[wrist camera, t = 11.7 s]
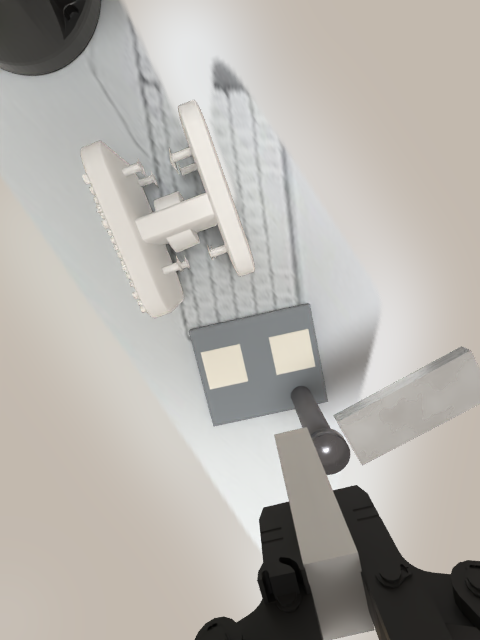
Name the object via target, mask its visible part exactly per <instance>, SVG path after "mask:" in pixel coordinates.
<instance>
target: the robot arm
mask: <svg viewBox="0 0 480 640" xmlns="http://www.w3.org/2000/svg"><path fill="white" fill-rule="evenodd" d="M100 4H101V0H0V68H2V69H4V70H7V71H10V72H13V73H17V74H23V75H40V74H46V73H50V72H53V71H55V70H58V69H60V68H62V67H64V66H66V65H67V64H69V63H70V62H71V61H73V60H74V59H75V58H76V57H77V56H78V55H79V54H80V53H81V52H82V51H83V49H84V48H85V47H86V45H87V44H88V42H89V40H90V39H91V37H92V35H93V32H94V30H95V27H96V24H97V21H98V17H99V12H100ZM274 436H275V440H276V445H277V449H278V454H279V458H280V463H281V467H282V472H283V476H284V481H285V485H286V490H287V494H288V499H289V502H286V503H281V504H277V505H273V506H268V507H264V508H263V510H262V513H261V516H260V519H259V523H260V533H261V543H262V554H263V564H262V566H261V568H260V570H259V572H258V580H257V581H258V584H259V587H260V591H261V594H262V598H263V599H262V601H261V603H260V605H259V606H258V607H257V608H256V609H255V610H254V611H253V612H252V613H251V614H249V615H248V616H246V617H245V618H243V619H241V620H240V621H238V622H237V623H236V622H235V621H234V620H232V619H230V618H227V617H219V618H214V619H213V620H211V621H209V622H207V623H206V624H205V625H204V626H203V627H202V629H201V630H200V631H199V632H198V634H197V636H196V638H195V640H332V639H337V638H341V637H345V636H350V635H355V634H359V633H364V632H368V631H373V630H374V626H375V630H376V632H377V635H378V638H379V640H480V561H470V560H467V561H464V562H460V563H458V564H457V565H456V566H455V567H454V568H453V569H452V573H451V574H441V573H432V572H427V571H423V570H421V569H418V568H416V567H414V566H413V565H411V564H409V562H407V561H406V560H405V559H404V558H403V557H402V556H401V554H400V553H399V551H398V549H397V547H396V545H395V543H394V542H393V540H392V538H391V536H390V534H389V532H388V530H387V529H386V527H385V525H384V523H383V521H382V519H381V518H380V517H379V514H378V512H377V510H376V508H375V507H374V505H373V503H372V501H371V499H370V497H369V495H368V494H367V493H366V492H365V491H364V490H362V489H361V488H360V487H358V486H357V485H355V486H350V487H346V488H342V489H337V490H332V488H331V485H330V483H329V480H328V478H327V475H326V473H325V470H324V468H323V466H322V463H321V461H320V458H319V456H318V453H317V451H316V448H315V446H314V443H313V441H312V439H311V436H310V434H309V431H308V429H307V427H305V428H301V429H296V430H292V431H288V432H284V433H280V434H275V435H274ZM373 624H374V626H373Z"/></svg>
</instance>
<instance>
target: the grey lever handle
mask: <svg viewBox="0 0 480 640" xmlns="http://www.w3.org/2000/svg"><path fill="white" fill-rule="evenodd" d="M479 404H480V368H479V366H478V364H477V362H476V360H475V358H474V356H473V353H472V351H471V350H469V349H467V348H464V347H459V348H458V349H456V350H454V351H452V352H450V353H449V354H447V355H445V356H443V357H441V358H439V359H437V360H435V361H433V362H432V363H430V364H428V365H426V366H424V367H422V368H420V369H419V370H417V371H415V372H413V373H411V374H409V375H408V376H406V377H404V378H402V379H400V380H398V381H396V382H395V383H393V384H391V385H389V386H387V387H385V388H383V389H382V390H380V391H378V392H376V393H374V394H372V395H370V396H369V397H367V398H365V399H363V400H361V401H359V402H357V403H356V404H354V405H352V406H350V407H348V408H346V409H345V410H343V411H341V412H339V413H337V414H335V415H333V416H334V418H335V419H336V421H337V423H338V425H339V426H340V428H341V430H342V432H343V433H344V435H345V437H346V438H347V440H348V442H349V444H350V445H351V447H352V449H353V451H354V452H355V454H356V456H357V457H358V459H359V461H360V463H361V464H362V465H364V464H366V463H368V462H370V461H372V460H374V459H376V458H378V457H380V456H381V455H383V454H385V453H387V452H389V451H391V450H393V449H395V448H397V447H398V446H400V445H402V444H404V443H406V442H408V441H410V440H412V439H414V438H416V437H418V436H420V435H422V434H424V433H425V432H427V431H429V430H431V429H433V428H435V427H437V426H439V425H441V424H443V423H445V422H447V421H448V420H450V419H452V418H454V417H456V416H458V415H460V414H462V413H464V412H466V411H467V410H469V409H471V408H473V407H475V406H477V405H479ZM310 436H311V439H312V441H313V443H314V446H315V448H316V451H317V453H318V456H319V458H320V461H321V463H322V466H323V468H324V470H325V473H326V475H330V474H335V473H337V472H339V471H341V470H342V469H343V468H344V467H345V466H346V465H347V464H348V462H349V459H350V449H349V447H348V445H347V443H346V441H345V440H344V438H343V436H342V435H341V434H340V433H339V432H337V431H335V430H333V429H320V430H317V431H315V432H313V433H312V434H311V435H310Z"/></svg>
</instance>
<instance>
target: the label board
mask: <svg viewBox="0 0 480 640" xmlns="http://www.w3.org/2000/svg"><path fill="white" fill-rule="evenodd" d="M189 333H190V337H191V341H192V345H193V349H194V352H195V356H196V360H197V364H198V368H199V372H200V376H201V380H202V383H203V387H204V391H205V395H206V399H207V403H208V407H209V410H210V414H211V418H212V422H213V426H218V425H222V424H227V423H232V422H236V421H241V420H246V419H250V418H255V417H260V416H264V415H269V414H273V413H278V412H283V411H287V410H292V409H296V412H297V415H298V417H299V420H300V422H301V425H302V427H303V428H305V427H307V429H308V431H309V434H310V435H311V434H312V433H313V432H315V431H317V430H320V429H330V427H329V425H328V423H327V421H326V419H325V418H324V416H323V414H322V412H321V410H320V408H319V407H318V405H317V404H320V403H324V402H328V399H327V394H326V389H325V383H324V378H323V373H322V367H321V362H320V357H319V351H318V346H317V341H316V335H315V330H314V325H313V319H312V314H311V309H310V304H308V303H307V304H302V305H298V306H293V307H289V308H285V309H280V310H276V311H271V312H267V313H262V314H258V315H253V316H249V317H244V318H240V319H235V320H231V321H226V322H222V323H217V324H213V325H208V326H204V327H199V328H195V329H190V331H189Z"/></svg>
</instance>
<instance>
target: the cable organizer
mask: <svg viewBox="0 0 480 640" xmlns="http://www.w3.org/2000/svg"><path fill="white" fill-rule="evenodd" d="M178 112H179V116H180V120H181V124H182V127H183V130H184V133H185V136H186V139H187V142H188V144H189V147H188V148H185V149H183V150H180V151H178V152H175V153H173V154H171V151H170V149H169V154H170V162H171V164H172V166H173V167H174V168H175V170H176V171H177V172H178V174H179V171H178V169H177V166H176V163H175V162H177V161H180V160H182V159H185V158H187V157H190V156H192V155H193V158H194V161H195V163H193V164H191V165H188V166H185V167H183V168H180V165H179V170H180V172H181V174H182V176H183V177H184V175H186V174H188V173H191V172H193V171H196V170H198V172H199V175H200V177H201V180H202V183H203V186H204V188H205V191H206V193H203V194H200V195H198V196H195V197H193V198H190V199H187V200H185V201H184V199H183V197H182V195H181V194H180V192H179V191H177V192H174V193H172V194H169V195H166V196H164V197H161V198H158V199H156V200H154V206H155V210H156V212H153V213H152V210H151V208H150V205H149V202H148V200H147V197H146V195H145V192H144V190H143V186H146V185H149V184H151V183H154V182H155V185H157V186H158V184H157V181H156V178H155V177H154V175H153V173H152V171H151V173H152V175H151V176H148V177H146V178H143V179H141V180H139V179H138V177H137V175H136V173H137V172H140V171H141V172H142V175H143V173H144V175H145V176H146V174H145V171H144V168H143V166H142V164H141V163H140V161H139V159H138V162H137V161H136V162H137V163H136V164H133V165H130V164H128V163H127V162H126V161H125V160H124V159H122V158H121V157H120V156H119V155H118V154H116V153H115V152H114V151H113V150H112V149H110V148H109V147H108V146H107V145H106V144H104V143H103V142H102V141H97V142H95V143H92V144H90V145H87V146H85V147H82V148H81V159H82V163H83V166H84V169H85V172H86V174H84V175H82V177H83V179H84V182H85V184H89V183H90V184H91V186H92V187H89V190H90V192H91V193H92V194H93V195H95V197H93V199H94V201H95V203H96V204H98V205H96V208H98V211H97V213H100V215H101V217H102V219H105V220H104V221H101V222H102V224H103V226H104V228H106V229H108V228H109V229H110V230H109V231H107V232H109V233H108V234H109V236H110V235H112V236H113V237H111V241H112V243H113V244H115V245H114V247H113V248H115V251H116V250H119V252H117V256H118V257H119V258H122V259H123V260H121V265H122V266H124V265H125V266H124V267H123V268H122V270H123V269H124V272H125V271H128V272H127V273H126V277H127V278H128V279H129V280H130V279H131V282H129V283H130V286H131V287H132V286H134V288H135V290H136V292H133V293H132V294H133V297H134V298H135V299H137V298H139V299H140V300H138V301H137V302H138V305H141V306H140V310H141V312H143V313H144V312H147V313H148V314H149V315H150V316H151V317H152V318H157V317H160V316H162V315H165V314H168V313H171V312H172V311H173V310H174V309H175V308H176V307H177V306H178V305H179V304H180V303H181V302H182V301H183V300H184V296H183V291H182V287H181V284H180V281H179V278H178V276H177V273H176V271H178V270H180V271H181V270H182V271H183V268H186V267H188V270H189V268H190V266H189V262H188V260H187V259H186V257H185V256H184V257H185V260H184V261H183V262H180V261H179V260H178V258H177V256H176V258H177V261H176V263H174V264H173V263H172V261H171V258H170V255H169V253H168V250H167V248H166V244H168V243H169V244H170V245H171V247H172V248H173V249H174V250H175V251H176V252H177V253H178V252H181V251H183V250H185V249H187V248H190V247H192V246H194V245H197V244H199V243H200V241H199V237H198V234H197V233H198V232H200V231H203V230H206V229H208V228H211V227H214V226H216V225H218V227H219V230H220V232H221V235H222V238H223V241H224V243H225V245H222V246H219V247H217V248H214V249H212V246H211V250H210V249H209V247H208V252H209V255H210V257H211V258H212V260H214V259H213V257H215V259H216V256H218V255H221V254H223V253H226V252H228V254H229V257H230V259H231V262H232V264H233V266H234V268H235V270H236V272H237V274H238V275H239V276H240V277H241V276H244V275H247V274H249V273H252V272H254V271H255V266H254V261H253V257H252V254H251V250H250V247H249V244H248V241H247V239H246V236H245V233H244V230H243V227H242V224H241V221H240V219H239V216H238V213H237V210H236V207H235V204H234V202H233V199H232V196H231V193H230V190H229V188H228V184H227V182H226V179H225V176H224V173H223V170H222V167H221V165H220V162H219V159H218V156H217V153H216V150H215V147H214V144H213V142H212V139H211V136H210V133H209V130H208V127H207V125H206V122H205V119H204V117H203V115H202V112H201V110H200V108H199V106H198V104H197V102H196V101H195V100H192V101H189V102H187V103H184V104H182V105H179V106H178ZM178 164H179V163H178ZM179 175H180V174H179ZM184 179H185V178H184ZM158 188H159V187H158ZM207 246H208V244H207ZM183 272H184V271H183Z"/></svg>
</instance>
